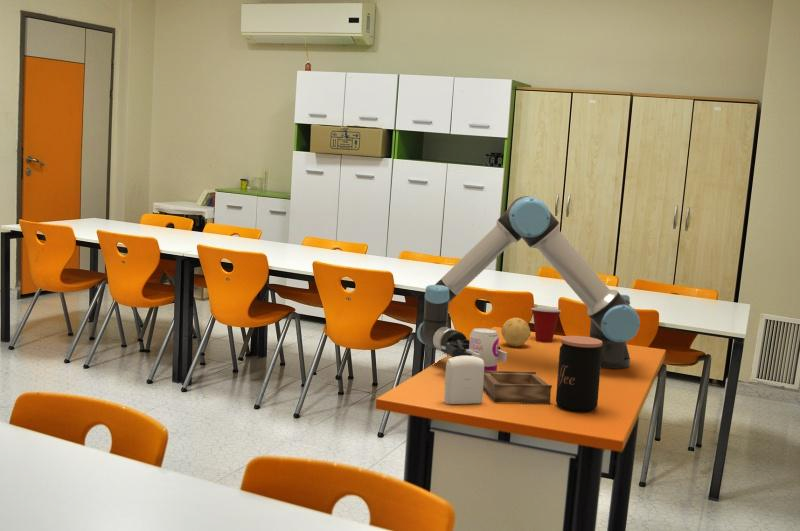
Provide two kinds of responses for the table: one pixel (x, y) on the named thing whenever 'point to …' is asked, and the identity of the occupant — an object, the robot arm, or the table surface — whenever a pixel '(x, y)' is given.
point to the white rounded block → (464, 380)
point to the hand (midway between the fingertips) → (492, 358)
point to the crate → (516, 387)
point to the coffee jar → (578, 373)
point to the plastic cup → (545, 323)
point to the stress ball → (515, 331)
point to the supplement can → (485, 346)
